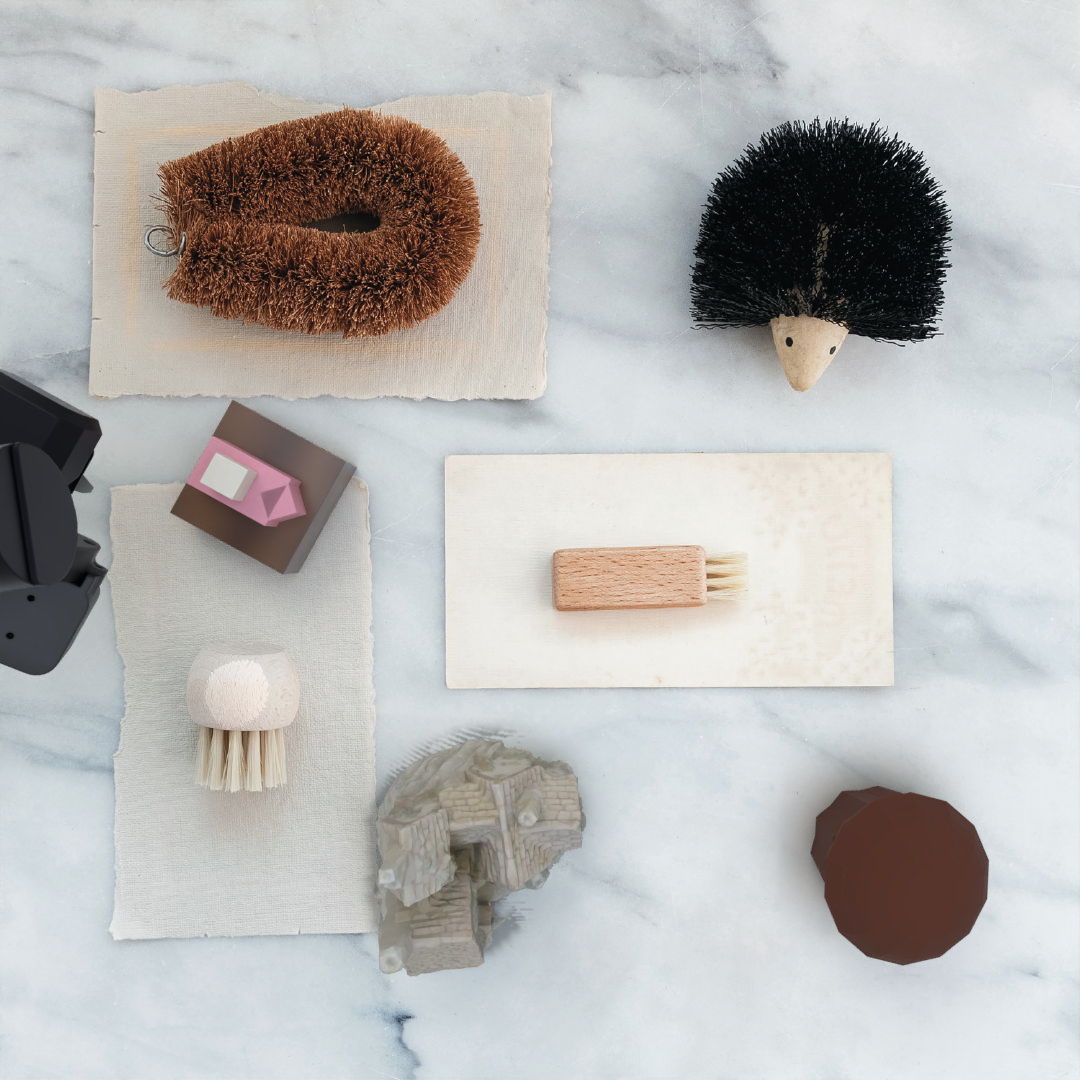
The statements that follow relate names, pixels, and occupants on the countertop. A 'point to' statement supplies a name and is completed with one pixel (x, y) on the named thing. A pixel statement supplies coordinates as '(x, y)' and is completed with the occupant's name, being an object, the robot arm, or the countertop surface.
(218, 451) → the boat
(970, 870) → the brown faceted knob
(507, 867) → the ceramic cottage
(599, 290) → the countertop surface
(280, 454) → the block
